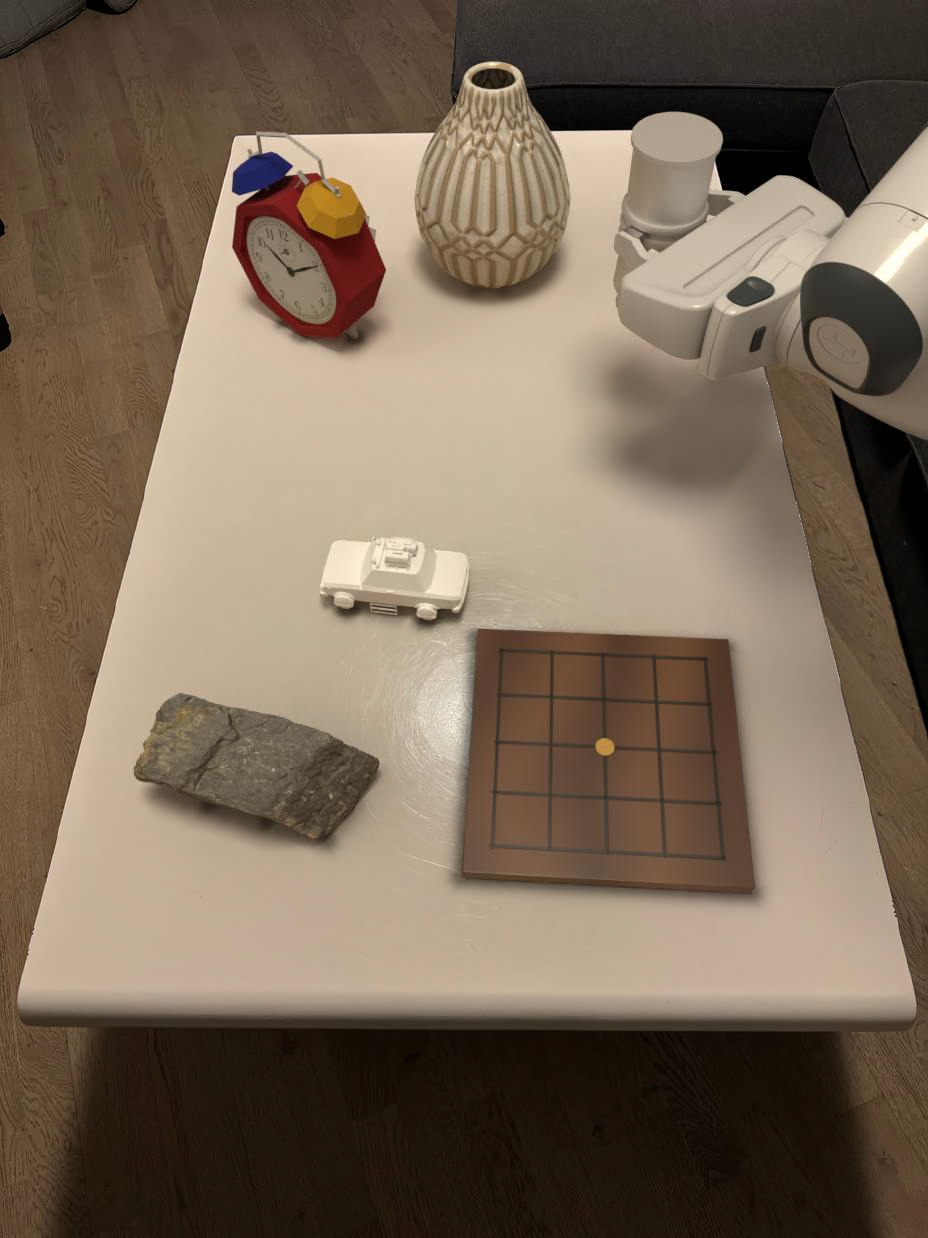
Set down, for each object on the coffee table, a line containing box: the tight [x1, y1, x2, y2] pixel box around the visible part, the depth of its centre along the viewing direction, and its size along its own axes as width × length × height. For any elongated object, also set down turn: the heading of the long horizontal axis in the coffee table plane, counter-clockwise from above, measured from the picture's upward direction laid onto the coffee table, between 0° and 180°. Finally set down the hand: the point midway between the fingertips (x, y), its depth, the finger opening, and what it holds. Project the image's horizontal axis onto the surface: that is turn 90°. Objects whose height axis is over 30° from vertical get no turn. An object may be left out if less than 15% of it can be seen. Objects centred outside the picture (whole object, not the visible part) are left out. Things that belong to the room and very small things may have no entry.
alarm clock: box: [231, 131, 387, 340], centre depth 90 cm, size 15×9×20 cm, turn 54°
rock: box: [133, 692, 380, 839], centre depth 68 cm, size 17×7×10 cm
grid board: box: [461, 628, 756, 894], centre depth 70 cm, size 20×20×1 cm
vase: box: [414, 61, 571, 289], centre depth 94 cm, size 16×16×20 cm
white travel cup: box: [612, 111, 724, 308], centre depth 76 cm, size 7×7×15 cm
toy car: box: [319, 535, 470, 621], centre depth 76 cm, size 6×12×7 cm, turn 81°
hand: (654, 215), depth 76 cm, fingers closed on white travel cup, 7 cm apart
